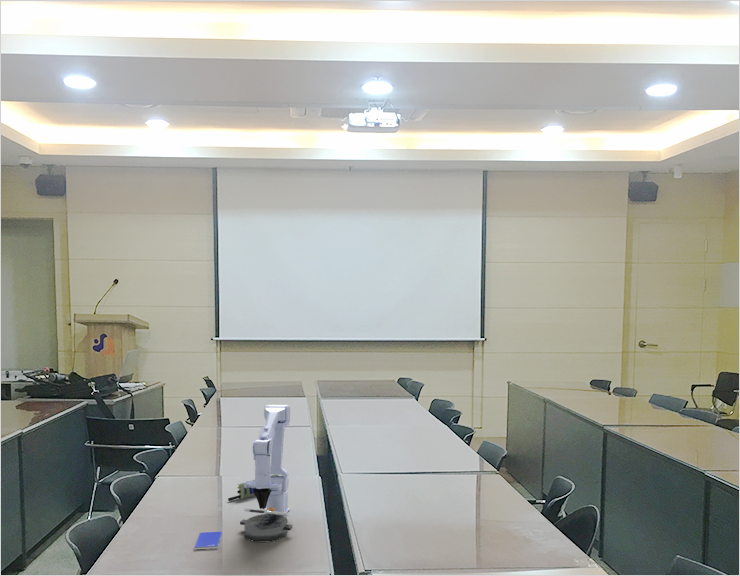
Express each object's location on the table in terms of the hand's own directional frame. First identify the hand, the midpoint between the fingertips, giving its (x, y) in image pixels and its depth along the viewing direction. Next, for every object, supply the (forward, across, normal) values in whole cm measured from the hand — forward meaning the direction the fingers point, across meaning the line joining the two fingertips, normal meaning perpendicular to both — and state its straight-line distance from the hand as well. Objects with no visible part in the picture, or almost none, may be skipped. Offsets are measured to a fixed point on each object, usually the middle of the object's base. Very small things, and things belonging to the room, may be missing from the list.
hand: (263, 507), depth 226 cm
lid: (+3, 0, +3) cm, 4 cm away
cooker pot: (+10, 0, +2) cm, 11 cm away
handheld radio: (+11, -22, +37) cm, 45 cm away
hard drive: (+11, -17, -10) cm, 23 cm away
